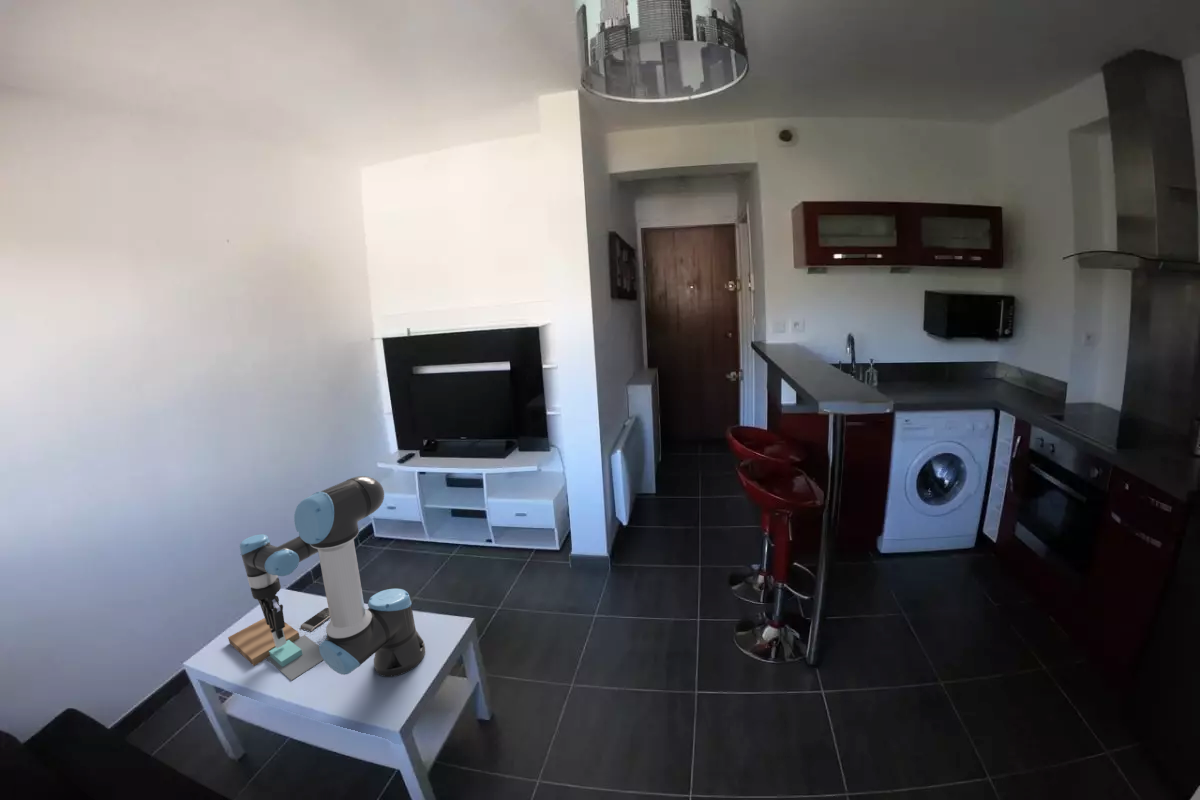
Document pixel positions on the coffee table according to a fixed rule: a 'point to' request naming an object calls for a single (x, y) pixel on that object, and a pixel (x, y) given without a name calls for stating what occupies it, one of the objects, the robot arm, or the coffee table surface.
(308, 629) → the cell phone
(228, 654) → the coffee table surface
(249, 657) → the wooden board
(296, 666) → the mat
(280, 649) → the teal rectangular block
